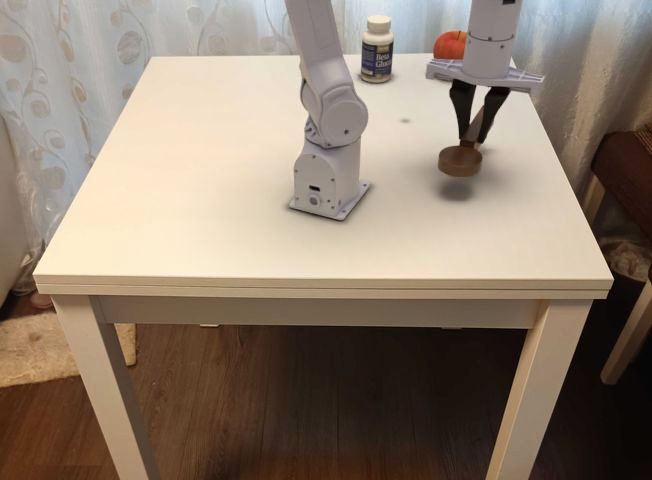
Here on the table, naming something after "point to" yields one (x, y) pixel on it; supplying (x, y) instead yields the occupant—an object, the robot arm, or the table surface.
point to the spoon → (464, 152)
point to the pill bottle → (377, 49)
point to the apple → (450, 46)
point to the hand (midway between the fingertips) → (472, 138)
